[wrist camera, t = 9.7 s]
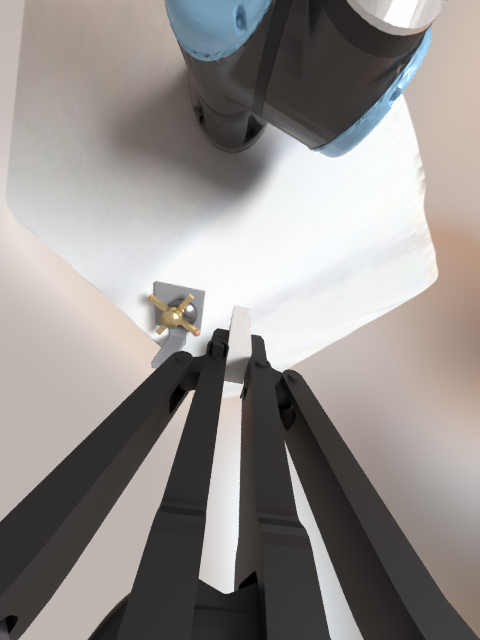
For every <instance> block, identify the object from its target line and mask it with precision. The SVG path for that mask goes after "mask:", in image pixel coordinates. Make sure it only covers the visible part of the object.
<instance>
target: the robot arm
mask: <svg viewBox="0 0 480 640" xmlns="http://www.w3.org/2000/svg"><path fill="white" fill-rule="evenodd" d="M164 1H165V6H166V11H167V15H168V18H169V20H170V24H171V28H172V30H173V33H174V35H175V37H176V39H177V41H178V44H179V46H180V49H181V52H182V54H183V57H184V59H185V62H186V64H187V67H188V70H189V72H190V75H191V77H190V91H191V99H192V105H193V109H194V112H195V115H196V118H197V120H198V123H199V125H200V127H201V129H202V131H203V132H204V134H205V135H206V137H207V138H208V139H209V140H210V141H211V142H212V143H213V144H214V145H215V146H216V147H218V148H220V149H222V150H224V151H228V152H239V151H243V150H245V149H247V148H249V147H250V146H252V145H253V144H254V143H255V142H256V141H257V140H258V139H259V138H260V136H261V135H262V134H263V132H264V130H265V128H266V126H267V124H268V123H270V124H272V125H273V126H275V127H277V128H278V129H280V130H281V131H283V132H285V133H286V134H288V135H290V136H291V137H293V138H295V139H296V140H298V141H299V142H301V143H303V144H304V145H306V146H307V147H308V148H309V149H310V150H313V151H318V152H320V153H322V154H324V155H326V156H328V157H333V158H334V157H339V156H342V155H344V154H346V153H347V152H349V151H350V150H352V149H353V148H354V147H355V146H357V145H358V144H359V143H360V142H361V141H362V140H363V139H364V138H365V137H366V136H367V135H368V134H369V133H370V132H371V131H372V130H373V129H374V128H375V127H376V126H377V125H378V123H379V122H380V121H381V120H382V119H383V118H384V116H385V115H386V114H387V113H388V111H389V110H390V109H391V105H392V103H393V102H394V101H395V100H396V99H397V98H398V97H399V96H400V95H401V94H402V93H403V91H404V90H405V88H406V87H407V85H408V84H409V83H410V81H411V80H412V78H413V76H414V75H415V73H416V72H417V70H418V68H419V67H420V65H421V63H422V61H423V59H424V57H425V55H426V53H427V51H428V48H429V45H430V41H431V38H432V32H431V25H432V23H433V22H434V21H435V20H436V18H437V17H438V15H439V14H440V12H441V11H442V10H443V8H444V6H445V4H446V2H447V0H164ZM224 381H228V382H234V383H240V384H243V381H244V386H243V389H242V392H241V396H240V398H242V421H241V462H240V464H241V465H240V502H239V538H238V546H237V553H236V561H235V581H234V592H232V593H230V594H224V593H222V592H220V591H218V590H216V589H215V588H213V587H211V586H210V585H208V584H206V583H205V582H203V581H201V580H200V579H198V577H199V570H200V563H201V555H202V548H203V540H204V532H205V524H206V509H207V500H208V493H209V486H210V479H211V471H212V464H213V456H214V449H215V442H216V435H217V427H218V420H219V413H220V405H221V398H222V391H223V383H224ZM192 390H195V393H194V396H193V399H192V403H191V406H190V409H189V413H188V416H187V419H186V423H185V426H184V429H183V432H182V436H181V439H180V442H179V446H178V449H177V452H176V456H175V459H174V463H173V466H172V469H171V472H170V476H169V479H168V482H167V485H166V489H165V492H164V495H163V499H162V502H161V504H160V507H159V508H158V511H157V513H156V515H155V518H154V520H153V523H152V527H151V530H150V533H149V536H148V539H147V542H146V545H145V549H144V552H143V555H142V559H141V562H140V565H139V568H138V571H137V575H136V578H135V581H134V584H133V588H132V591H131V593H129V594H128V595H127V596H125V597H124V598H123V599H122V600H121V601H120V602H119V603H118V604H117V605H116V606H115V607H114V608H113V609H112V610H111V611H110V612H109V613H108V615H107V616H106V617H105V618H104V619H103V620H102V622H101V623H100V624H99V626H98V627H97V628H96V629H95V631H94V632H93V633H92V635H91V636H90V637H89V639H88V640H331V638H330V635H329V630H328V625H327V621H326V615H325V610H324V605H323V601H322V595H321V591H320V586H319V581H318V576H317V571H316V566H315V561H314V556H313V551H312V547H311V543H310V539H309V536H308V534H307V531H306V529H305V528H304V526H303V525H302V524H301V523H300V521H299V518H298V515H297V511H296V505H295V499H294V494H293V489H292V482H291V476H290V471H289V465H288V460H287V454H286V448H285V443H286V445H287V448H288V450H289V453H290V456H291V458H292V461H293V464H294V466H295V469H296V471H297V474H298V476H299V479H300V481H301V484H302V487H303V489H304V492H305V494H306V497H307V500H308V502H309V505H310V507H311V510H312V513H313V515H314V518H315V520H316V523H317V526H318V528H319V530H320V533H321V536H322V538H323V541H324V544H325V546H326V549H327V552H328V554H329V557H330V559H331V562H332V564H333V567H334V570H335V572H336V575H337V577H338V580H339V582H340V585H341V588H342V590H343V593H344V595H345V598H346V600H347V603H348V605H349V607H350V610H351V612H352V615H353V617H354V619H355V622H356V624H357V626H358V628H359V630H360V632H361V634H362V637H363V639H364V640H480V639H479V638H478V637H477V635H476V634H475V633H474V632H473V631H472V629H471V628H470V627H469V626H468V625H467V623H466V622H465V621H464V620H463V619H462V618H461V616H460V615H459V614H458V613H457V611H456V610H455V609H454V608H453V607H452V605H451V604H450V603H449V602H448V601H447V599H446V598H445V597H444V595H443V594H442V592H441V591H440V589H439V587H438V586H437V584H436V583H435V581H434V580H433V578H432V577H431V575H430V574H429V572H428V570H427V569H426V567H425V566H424V564H423V563H422V561H421V560H420V558H419V556H418V555H417V554H416V552H415V551H414V549H413V547H412V546H411V544H410V543H409V541H408V540H407V538H406V536H405V535H404V533H403V532H402V530H401V529H400V527H399V526H398V524H397V523H396V521H395V519H394V518H393V516H392V515H391V513H390V512H389V510H388V509H387V507H386V505H385V504H384V502H383V501H382V499H381V498H380V496H379V495H378V493H377V492H376V490H375V488H374V487H373V486H372V484H371V482H370V481H369V479H368V478H367V476H366V474H365V473H364V471H363V470H362V468H361V467H360V465H359V464H358V462H357V461H356V459H355V457H354V456H353V454H352V453H351V451H350V450H349V448H348V447H347V445H346V444H345V442H344V441H343V439H342V437H341V436H340V434H339V433H338V432H337V430H336V428H335V426H334V425H333V423H332V422H331V420H330V419H329V417H328V416H327V414H326V413H325V411H324V409H323V408H322V406H321V405H320V403H319V402H318V400H317V399H316V397H315V396H314V394H313V392H312V391H311V389H310V388H309V386H308V385H307V383H306V382H305V380H304V379H303V377H302V376H301V375H300V374H299V373H298V372H296V371H294V370H285V371H284V372H283V373H281V372H279V371H277V370H275V369H273V368H272V367H271V365H270V363H269V362H268V361H267V358H266V351H265V345H264V340H263V339H262V337H261V336H258V335H252V334H251V325H250V309H249V308H244V307H239V306H234V308H233V313H232V318H231V323H230V327H229V330H224V329H219V328H217V329H216V330H215V331H214V333H213V336H212V340H211V341H209V342H208V345H207V352H206V354H205V355H203V356H200V357H193V356H192V355H191V354H190V353H188V352H185V351H178V352H175V353H173V354H172V355H170V356H169V357H168V358H167V359H166V360H165V361H164V362H163V363H162V364H161V365H160V366H159V367H158V368H157V369H156V370H155V371H154V372H153V373H152V374H151V375H150V376H149V377H148V378H147V379H146V380H145V381H144V382H143V383H142V384H141V385H140V386H139V387H138V388H137V389H136V390H135V391H134V392H133V393H132V394H131V395H130V396H129V397H127V398H126V399H125V400H124V401H123V402H122V403H121V404H120V405H119V406H118V407H117V408H116V409H115V410H114V411H113V412H112V413H111V414H110V415H109V416H108V417H107V418H106V419H105V420H104V421H103V422H102V423H101V424H100V425H99V426H98V427H97V428H96V429H95V430H94V431H93V432H92V433H91V434H90V435H89V436H88V437H87V438H86V439H85V440H83V442H82V443H80V445H78V446H77V447H76V448H75V449H74V450H73V451H72V452H71V453H70V454H69V455H68V456H67V457H66V458H65V459H64V460H63V461H62V462H61V463H60V464H59V465H58V466H57V467H56V468H55V469H54V470H53V471H52V472H51V473H50V474H49V475H48V476H47V477H46V478H45V479H44V480H43V481H42V482H41V483H40V484H38V485H37V486H36V488H34V489H33V490H32V491H31V492H30V493H29V494H28V495H27V496H26V497H25V498H24V499H23V500H22V501H21V502H20V503H19V504H18V505H17V506H16V507H15V508H14V509H13V510H12V511H11V512H10V513H9V514H8V515H7V516H6V517H5V518H4V519H3V520H2V521H1V522H0V640H18V639H19V638H20V637H21V635H22V634H23V633H24V632H25V631H26V630H27V628H28V627H29V626H30V624H31V623H32V622H33V621H34V619H35V618H36V617H37V616H38V614H39V613H40V611H41V610H42V609H43V608H44V607H45V605H46V604H47V603H48V602H49V600H50V599H51V598H52V596H53V595H54V593H55V592H56V590H57V589H58V587H59V586H60V585H61V583H62V582H63V580H64V579H65V578H66V576H67V575H68V573H69V572H70V571H71V569H72V568H73V566H74V565H75V563H76V562H77V560H78V558H79V557H80V555H81V554H82V553H83V551H84V550H85V548H86V547H87V545H88V544H89V542H90V541H91V539H92V538H93V536H94V535H95V533H96V532H97V530H98V528H99V527H100V525H101V524H102V522H103V521H104V519H105V518H106V516H107V515H108V513H109V512H110V510H111V509H112V507H113V506H114V504H115V503H116V501H117V500H118V498H119V497H120V495H121V494H122V492H123V491H124V489H125V488H126V486H127V485H128V483H129V482H130V480H131V479H132V477H133V476H134V474H135V473H136V471H137V470H138V468H139V467H140V465H141V464H142V462H143V461H144V459H145V458H146V456H147V455H148V453H149V452H150V450H151V449H152V447H153V445H154V444H155V443H156V441H157V440H158V438H159V436H160V435H161V434H162V432H163V430H164V429H165V428H166V426H167V425H168V423H169V422H170V420H171V418H172V417H173V415H174V414H175V412H176V411H177V409H178V408H179V406H180V405H181V403H182V402H183V400H184V399H185V397H186V396H187V394H188V393H189V391H192ZM284 440H285V442H284Z"/></svg>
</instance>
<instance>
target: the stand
mask: <svg viewBox="0 0 480 640" xmlns="http://www.w3.org/2000/svg"><path fill="white" fill-rule="evenodd" d="M189 294H191V295H192V296H193V297H194V298H193V300H192V301H191V303H192V304H193V305H194V306H195V308H196V310H197V319H196V321H195V323H194V324H193V326H194V327H195V328H197V329H199V330H200V331H201V322H202V314H203V305H204V297H205V291H202V290H197V289H192V288H187V287H182V286H177V285H172V284H167V283H162V282H158V281H156V282H155V296H156V297H157V298H159V299H160V300H161V301H162V302H164V303H165V304H166V305H167V306H168V305H169V304H170V303H171V302H172V301H174V300H176V299H184V300H185V299H186V298H187V297H188V296H189ZM155 309H156V325H160V326H161V325H162V323H161V320H160V317H161V315H162V313H163V311H162V310H161V309H160V308H158V307H157V306H156V305H155ZM187 331H188V330H187V329H186V328H181V327H177V328H175V329H170V336H169V337H168V339H167V340H166V342H165V343H164V344H163V346H162V347H161V349H160V350H159V352H158V353H157V355H156V356H155V358H154V359H153V361H152V362H151V365H152V368H156V369H157V368H158V367H159V366H160V365H161V364H162V363H163V362H164V361H165V360H166V359H167V358H168V357H169V356H170V355H172V354H173V353H175V352H178V351H181V349H182V347H183V346H184V345H185V344H186V332H187Z"/></svg>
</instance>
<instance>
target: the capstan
mask: <svg viewBox="0 0 480 640" xmlns="http://www.w3.org/2000/svg"><path fill="white" fill-rule="evenodd" d="M193 298H194V297H193V296H192V295H191V294H189V296H188V297H187V298H186V299H185V300H184V299H176V300H174V301H172V302H171V303H170V304H169V305H168V306H167V305H166V304H165V303H164V302H162V301H161V300H160V299H159V298H157V297H156V296H155V295H153V294H151V295H150V296H149V297H148V298H147V299H148V300H149V301H150V302H152V303H153V304H154V305H156V306H157V307H158V308H160V309H161V310H162V311H163V313H162V315H161V317H160V320H161V323H162V325H161V326H160V328H159V329H158V330H157V331H156V332H157V333H158V334H159V335H160V334H161V333H162V332H163V331H164V330H165V329H166V328H169V329H175V328H177V327H181V328H186V329H187V330H188V331H190V332H191V333H192V334H193V335H194V336H199V335H200V330H199V329H197V328H195V327H194V326H193V324H194V323H195V321H196V319H197V310H196V308H195V306H194V305H193V304H192V303H191V301H192V300H193Z"/></svg>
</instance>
